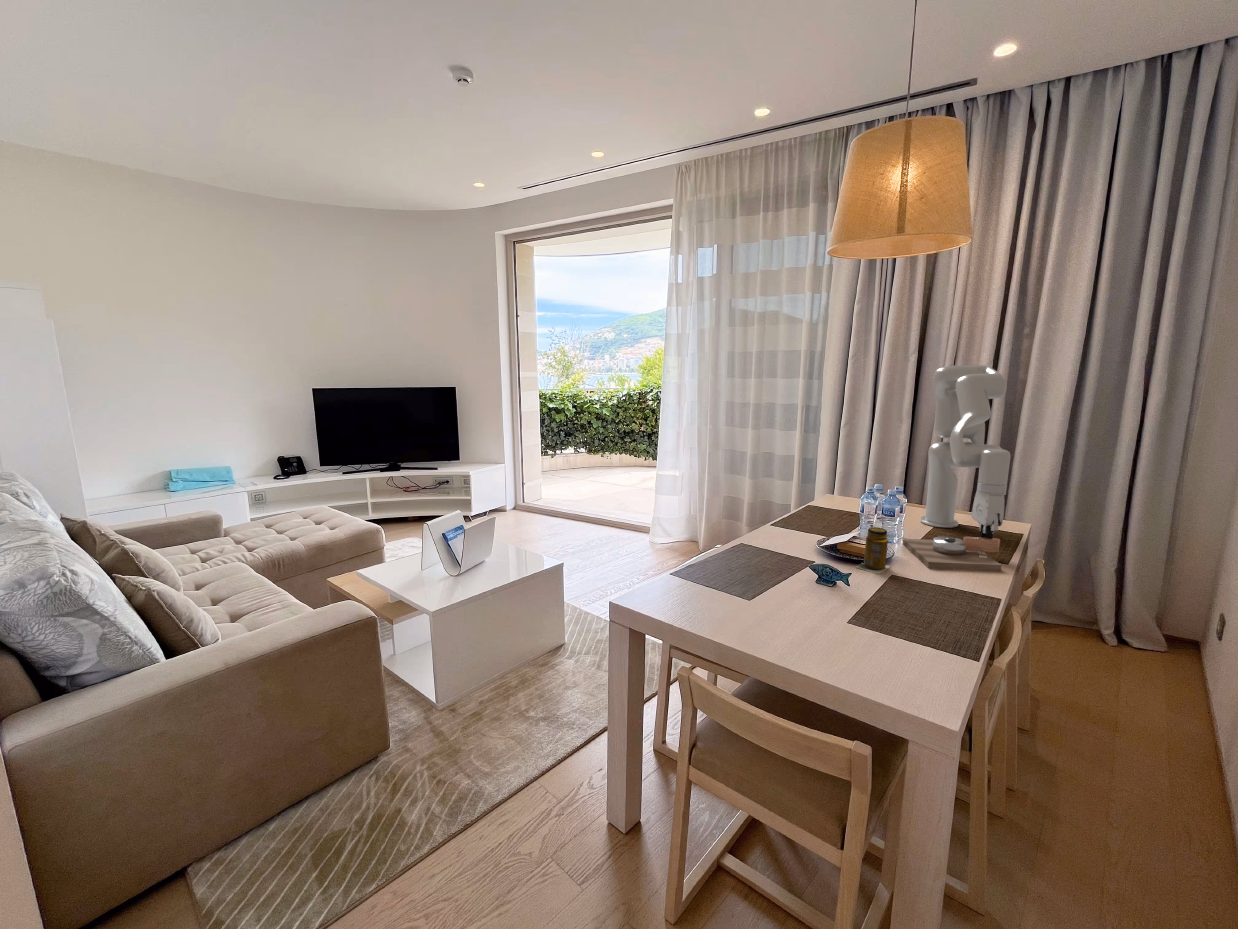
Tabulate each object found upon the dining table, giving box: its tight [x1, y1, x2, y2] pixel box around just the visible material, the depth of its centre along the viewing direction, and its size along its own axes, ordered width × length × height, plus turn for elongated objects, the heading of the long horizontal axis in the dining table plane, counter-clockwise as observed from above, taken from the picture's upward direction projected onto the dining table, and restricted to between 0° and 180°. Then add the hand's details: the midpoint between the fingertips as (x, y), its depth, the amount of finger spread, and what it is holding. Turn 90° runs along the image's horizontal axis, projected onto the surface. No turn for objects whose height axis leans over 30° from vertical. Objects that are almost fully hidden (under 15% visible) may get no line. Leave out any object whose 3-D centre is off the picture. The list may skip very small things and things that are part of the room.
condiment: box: [855, 526, 891, 575], centre depth 162 cm, size 7×8×12 cm
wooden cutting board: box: [902, 538, 1003, 572], centre depth 170 cm, size 22×20×2 cm
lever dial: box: [932, 536, 1001, 555], centre depth 168 cm, size 18×9×4 cm, turn 75°
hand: (984, 544), depth 170 cm, fingers closed
